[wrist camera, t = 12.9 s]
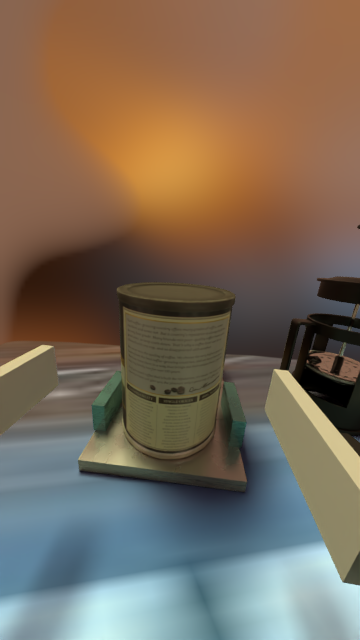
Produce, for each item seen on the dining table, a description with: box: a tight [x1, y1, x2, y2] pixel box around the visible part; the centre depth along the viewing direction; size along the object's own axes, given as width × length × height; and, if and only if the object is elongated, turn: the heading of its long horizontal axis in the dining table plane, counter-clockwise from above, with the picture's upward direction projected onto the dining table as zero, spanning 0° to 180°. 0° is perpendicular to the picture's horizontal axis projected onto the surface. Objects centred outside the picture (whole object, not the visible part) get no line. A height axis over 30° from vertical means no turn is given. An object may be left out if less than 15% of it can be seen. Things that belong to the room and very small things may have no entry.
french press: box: [280, 225, 360, 436], centre depth 23 cm, size 12×9×23 cm
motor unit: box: [78, 371, 247, 492], centre depth 25 cm, size 14×21×11 cm
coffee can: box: [117, 282, 235, 459], centre depth 19 cm, size 10×10×14 cm
